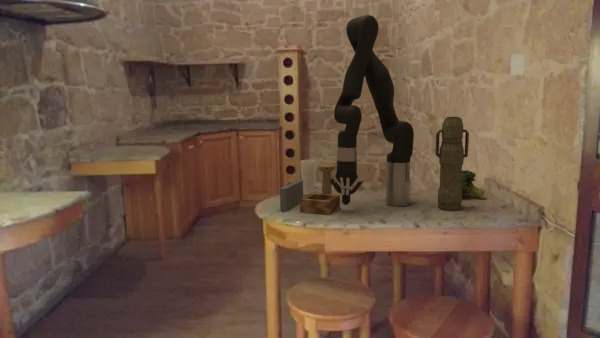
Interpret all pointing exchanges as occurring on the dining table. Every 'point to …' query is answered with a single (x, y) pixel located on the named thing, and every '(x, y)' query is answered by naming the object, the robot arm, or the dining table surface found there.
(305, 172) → the drinking glass
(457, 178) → the thermos
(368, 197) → the dining table surface
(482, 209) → the dining table surface
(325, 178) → the handle
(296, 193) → the slate wall
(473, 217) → the dining table surface
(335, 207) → the walnut block
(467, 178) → the vegetable
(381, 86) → the robot arm
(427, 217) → the dining table surface
